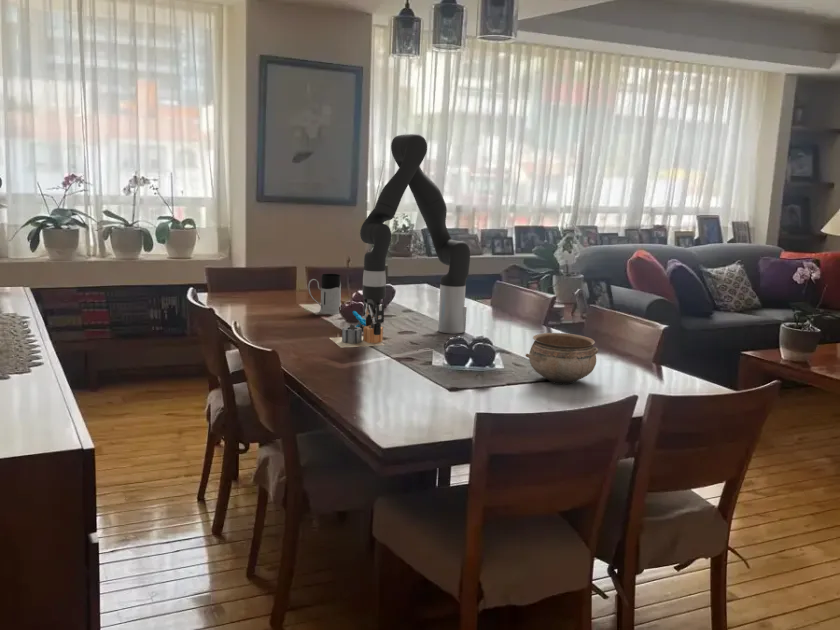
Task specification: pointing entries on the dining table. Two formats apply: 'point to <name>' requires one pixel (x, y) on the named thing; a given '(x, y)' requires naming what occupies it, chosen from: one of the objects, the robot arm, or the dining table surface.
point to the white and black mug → (329, 293)
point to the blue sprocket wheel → (362, 320)
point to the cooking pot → (562, 356)
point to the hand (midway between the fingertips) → (372, 332)
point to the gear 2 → (371, 335)
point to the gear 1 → (352, 335)
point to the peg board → (339, 342)
